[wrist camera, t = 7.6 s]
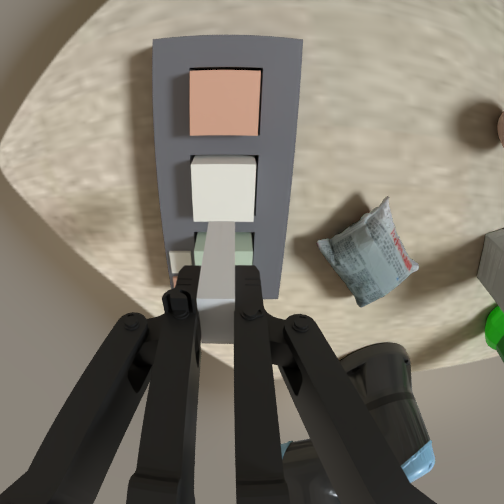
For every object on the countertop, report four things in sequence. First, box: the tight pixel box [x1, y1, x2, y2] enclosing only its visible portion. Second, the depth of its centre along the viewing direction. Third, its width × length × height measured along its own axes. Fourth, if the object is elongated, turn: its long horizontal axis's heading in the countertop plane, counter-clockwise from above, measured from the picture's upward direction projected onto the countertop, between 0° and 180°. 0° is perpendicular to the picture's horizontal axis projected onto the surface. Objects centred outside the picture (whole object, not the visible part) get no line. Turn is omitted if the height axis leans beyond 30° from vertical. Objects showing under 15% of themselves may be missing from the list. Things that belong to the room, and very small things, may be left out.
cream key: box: [191, 154, 256, 222], centre depth 24 cm, size 5×5×4 cm
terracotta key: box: [190, 70, 261, 136], centre depth 20 cm, size 5×5×4 cm
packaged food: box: [317, 196, 419, 307], centre depth 30 cm, size 9×12×5 cm
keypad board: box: [152, 35, 303, 299], centre depth 25 cm, size 25×11×3 cm, turn 178°
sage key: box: [194, 232, 253, 266], centre depth 27 cm, size 5×5×4 cm
